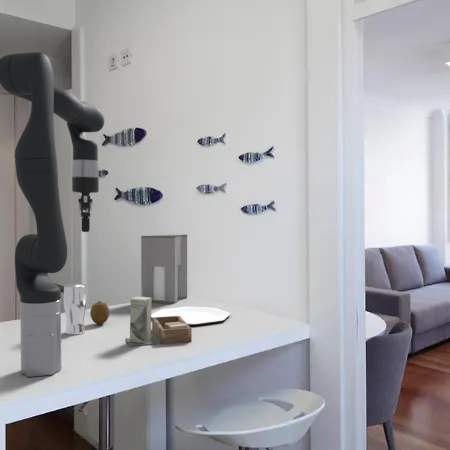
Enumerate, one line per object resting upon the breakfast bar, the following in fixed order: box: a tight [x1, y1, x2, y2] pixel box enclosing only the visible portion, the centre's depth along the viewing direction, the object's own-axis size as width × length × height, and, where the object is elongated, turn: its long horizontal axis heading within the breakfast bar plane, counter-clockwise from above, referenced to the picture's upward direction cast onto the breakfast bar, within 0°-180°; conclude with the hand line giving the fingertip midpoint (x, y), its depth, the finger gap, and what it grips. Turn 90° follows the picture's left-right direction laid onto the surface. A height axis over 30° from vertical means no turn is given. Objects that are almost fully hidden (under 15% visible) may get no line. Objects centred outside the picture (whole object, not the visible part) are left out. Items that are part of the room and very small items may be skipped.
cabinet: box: [140, 234, 188, 305], centre depth 209 cm, size 21×10×28 cm, turn 122°
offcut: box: [165, 322, 186, 329], centre depth 150 cm, size 5×5×2 cm
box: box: [129, 296, 152, 343], centre depth 146 cm, size 5×4×13 cm
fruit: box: [90, 300, 110, 326], centre depth 168 cm, size 6×6×8 cm
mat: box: [125, 336, 157, 347], centre depth 146 cm, size 8×8×1 cm
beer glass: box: [63, 283, 87, 336], centre depth 157 cm, size 7×7×15 cm
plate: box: [151, 306, 231, 326], centre depth 179 cm, size 28×28×2 cm
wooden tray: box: [151, 316, 193, 345], centre depth 154 cm, size 18×9×4 cm, turn 17°
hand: (85, 231), depth 146 cm, fingers open, 8 cm apart
